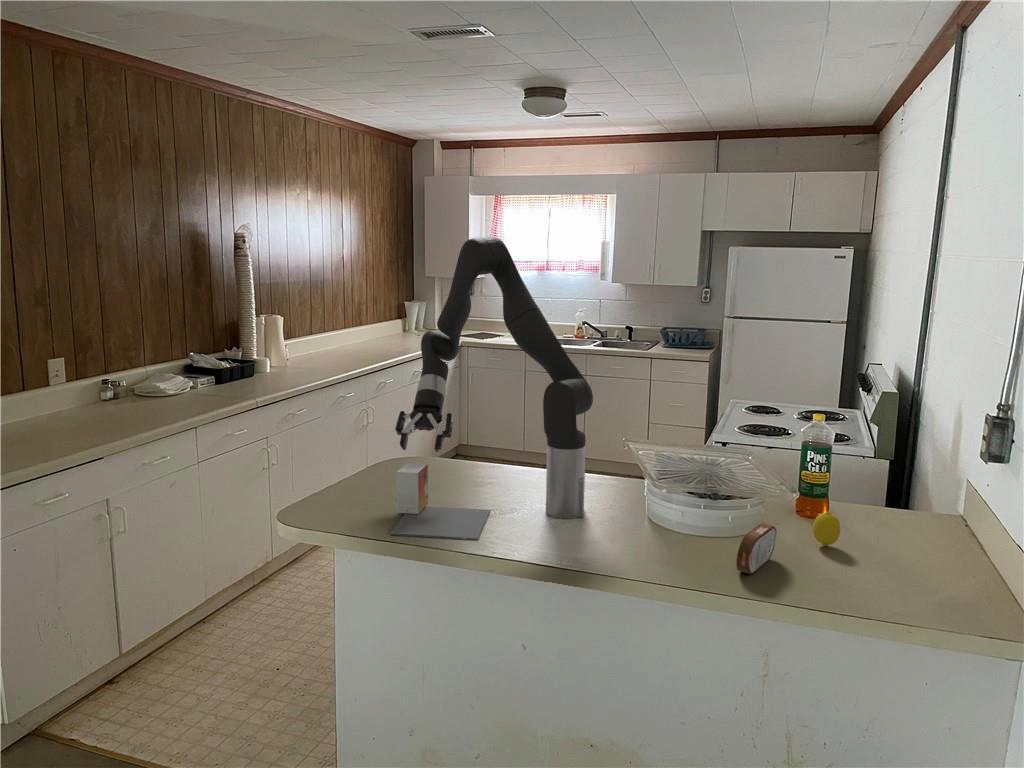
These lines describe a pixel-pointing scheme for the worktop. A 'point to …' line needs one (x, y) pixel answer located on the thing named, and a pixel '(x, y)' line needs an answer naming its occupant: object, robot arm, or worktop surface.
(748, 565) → the tin
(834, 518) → the lemon
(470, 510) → the mat
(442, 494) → the worktop surface
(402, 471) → the small box
